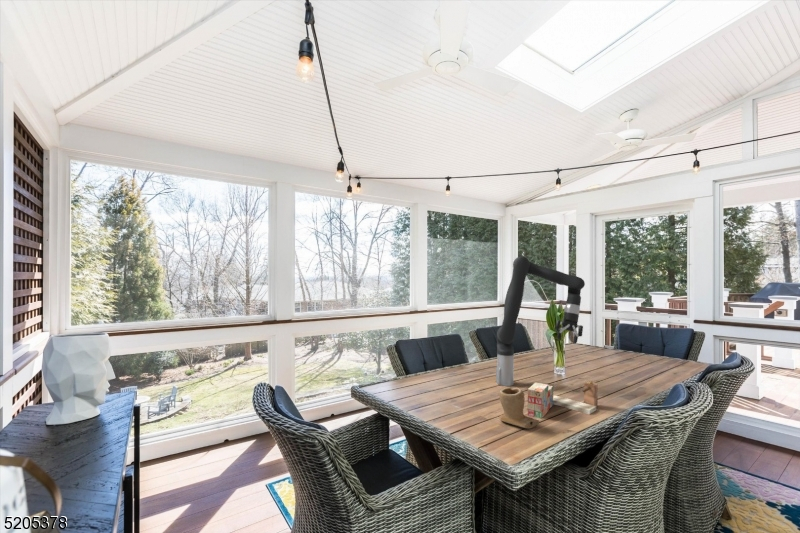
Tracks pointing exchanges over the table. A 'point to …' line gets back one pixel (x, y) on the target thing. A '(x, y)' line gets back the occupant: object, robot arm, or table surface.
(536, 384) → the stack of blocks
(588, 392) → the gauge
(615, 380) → the table surface
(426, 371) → the table surface
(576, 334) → the robot arm
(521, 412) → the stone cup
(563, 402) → the board
